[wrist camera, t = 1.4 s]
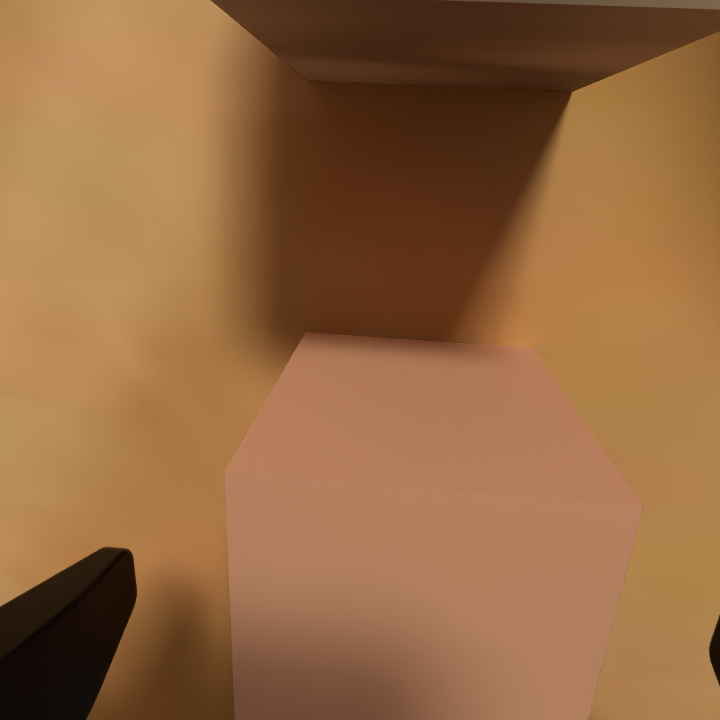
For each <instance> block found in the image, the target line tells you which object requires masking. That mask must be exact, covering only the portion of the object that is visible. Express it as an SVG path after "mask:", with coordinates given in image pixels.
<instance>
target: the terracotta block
mask: <svg viewBox="0 0 720 720" xmlns="http://www.w3.org/2000/svg"><path fill="white" fill-rule="evenodd" d="M224 476H225V501H226V525H227V549H228V573H229V598H230V622H231V646H232V670H233V695H234V719H235V720H588V718H589V714H590V710H591V706H592V702H593V699H594V695H595V691H596V687H597V683H598V679H599V675H600V672H601V668H602V664H603V660H604V656H605V652H606V648H607V644H608V641H609V637H610V633H611V629H612V625H613V621H614V617H615V613H616V610H617V606H618V602H619V598H620V594H621V590H622V586H623V582H624V579H625V575H626V571H627V567H628V563H629V559H630V555H631V551H632V548H633V544H634V540H635V536H636V532H637V528H638V524H639V521H640V517H641V513H642V509H643V506H642V504H641V503H640V501H639V500H638V499H637V497H636V496H635V494H634V493H633V491H632V490H631V488H630V487H629V486H628V484H627V483H626V481H625V480H624V478H623V477H622V475H621V474H620V473H619V471H618V470H617V468H616V467H615V465H614V464H613V462H612V461H611V460H610V458H609V457H608V455H607V454H606V452H605V451H604V449H603V448H602V447H601V445H600V444H599V442H598V441H597V439H596V438H595V436H594V435H593V434H592V432H591V431H590V429H589V428H588V426H587V425H586V423H585V422H584V421H583V419H582V418H581V416H580V415H579V413H578V412H577V410H576V409H575V408H574V406H573V405H572V403H571V402H570V400H569V399H568V397H567V396H566V395H565V393H564V392H563V390H562V389H561V387H560V386H559V384H558V383H557V382H556V380H555V379H554V377H553V376H552V374H551V373H550V371H549V370H548V369H547V367H546V366H545V364H544V363H543V361H542V360H541V358H540V357H539V356H538V354H537V353H536V351H535V350H534V348H533V347H519V346H504V345H489V344H474V343H459V342H444V341H430V340H415V339H400V338H385V337H370V336H356V335H341V334H326V333H311V332H305V334H304V336H303V337H302V339H301V341H300V343H299V344H298V346H297V348H296V350H295V351H294V353H293V355H292V356H291V358H290V360H289V362H288V363H287V365H286V367H285V369H284V370H283V372H282V374H281V375H280V377H279V379H278V381H277V382H276V384H275V386H274V387H273V389H272V391H271V393H270V394H269V396H268V398H267V400H266V401H265V403H264V405H263V406H262V408H261V410H260V412H259V413H258V415H257V417H256V419H255V420H254V422H253V424H252V425H251V427H250V429H249V431H248V432H247V434H246V436H245V438H244V439H243V441H242V443H241V444H240V446H239V448H238V450H237V451H236V453H235V455H234V457H233V458H232V460H231V462H230V463H229V465H228V467H227V469H226V470H225V472H224Z"/></svg>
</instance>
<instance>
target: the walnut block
mask: <svg viewBox="0 0 720 720" xmlns="http://www.w3.org/2000/svg"><path fill="white" fill-rule="evenodd" d="M211 1H212V2H213V3H215V4H216V5H217V6H218V7H219V8H221V9H222V10H223V11H224V12H225V13H227V14H228V15H229V16H230V17H232V18H233V19H234V20H235V21H236V22H238V23H239V24H240V25H241V26H242V27H244V28H245V29H246V30H247V31H248V32H250V33H251V34H252V35H253V36H254V37H256V38H257V39H258V40H259V41H260V42H262V43H263V44H264V45H265V46H266V47H268V48H269V49H270V50H271V51H272V52H274V53H275V54H276V55H277V56H278V57H280V58H281V59H282V60H283V61H284V62H286V63H287V64H288V65H289V66H291V67H292V68H293V69H294V70H295V71H297V72H298V73H299V74H300V75H301V76H303V77H304V78H305V79H306V80H307V81H329V82H353V83H377V84H401V85H425V86H449V87H473V88H496V89H520V90H544V91H568V92H573V91H575V90H578V89H580V88H582V87H585V86H587V85H590V84H592V83H595V82H597V81H599V80H602V79H604V78H607V77H609V76H612V75H614V74H616V73H619V72H621V71H624V70H626V69H629V68H631V67H633V66H636V65H638V64H641V63H643V62H646V61H648V60H650V59H653V58H655V57H658V56H660V55H663V54H665V53H667V52H670V51H672V50H675V49H677V48H679V47H682V46H684V45H687V44H689V43H692V42H694V41H696V40H699V39H701V38H704V37H706V36H709V35H711V34H713V33H716V32H718V31H720V0H211Z"/></svg>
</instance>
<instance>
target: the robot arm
mask: <svg viewBox="0 0 720 720" xmlns="http://www.w3.org/2000/svg"><path fill="white" fill-rule="evenodd" d="M136 597H137V586H136V577H135V568H134V559H133V554H132V552H131V551H130V550H128V549H126V548H115V547H104V548H101V549H99V550H98V551H96V552H94V553H92V554H91V555H89V556H87V557H85V558H84V559H82V560H80V561H78V562H77V563H75V564H73V565H72V566H70V567H68V568H66V569H65V570H63V571H61V572H59V573H58V574H56V575H54V576H52V577H51V578H49V579H47V580H45V581H44V582H42V583H40V584H39V585H37V586H35V587H33V588H32V589H30V590H28V591H26V592H25V593H23V594H21V595H19V596H18V597H16V598H14V599H13V600H11V601H9V602H7V603H6V604H4V605H2V606H0V720H86V719H87V717H88V715H89V713H90V711H91V709H92V707H93V705H94V703H95V700H96V698H97V696H98V693H99V691H100V689H101V686H102V684H103V682H104V679H105V677H106V674H107V672H108V669H109V667H110V665H111V662H112V660H113V657H114V655H115V652H116V650H117V647H118V645H119V643H120V640H121V638H122V635H123V633H124V630H125V628H126V625H127V623H128V621H129V618H130V616H131V613H132V611H133V608H134V606H135V602H136ZM709 655H710V660H711V664H712V667H713V669H714V672H715V675H716V677H717V680H718V683H719V685H720V615H719V618H718V621H717V624H716V627H715V630H714V633H713V636H712V639H711V642H710V647H709Z"/></svg>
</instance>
